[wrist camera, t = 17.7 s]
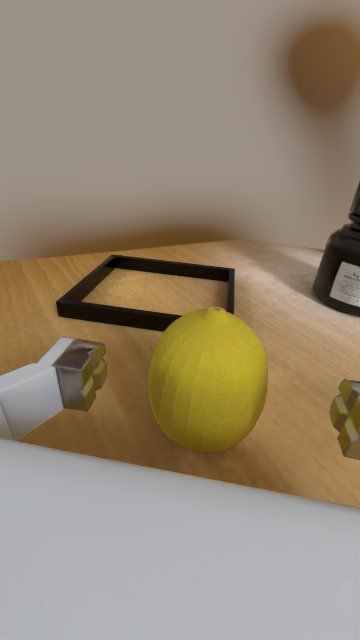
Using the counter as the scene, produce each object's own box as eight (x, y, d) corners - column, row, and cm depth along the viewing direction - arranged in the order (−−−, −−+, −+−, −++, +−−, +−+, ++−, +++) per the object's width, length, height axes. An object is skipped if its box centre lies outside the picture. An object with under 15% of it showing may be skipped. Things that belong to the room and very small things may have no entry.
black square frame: (58, 316, 26) (55, 301, 25) (112, 265, 37) (111, 254, 36) (231, 341, 24) (233, 326, 23) (232, 280, 35) (234, 268, 34)
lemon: (229, 511, 13) (269, 371, 9) (126, 452, 15) (119, 318, 11) (261, 422, 17) (298, 300, 13) (178, 387, 19) (186, 272, 15)
